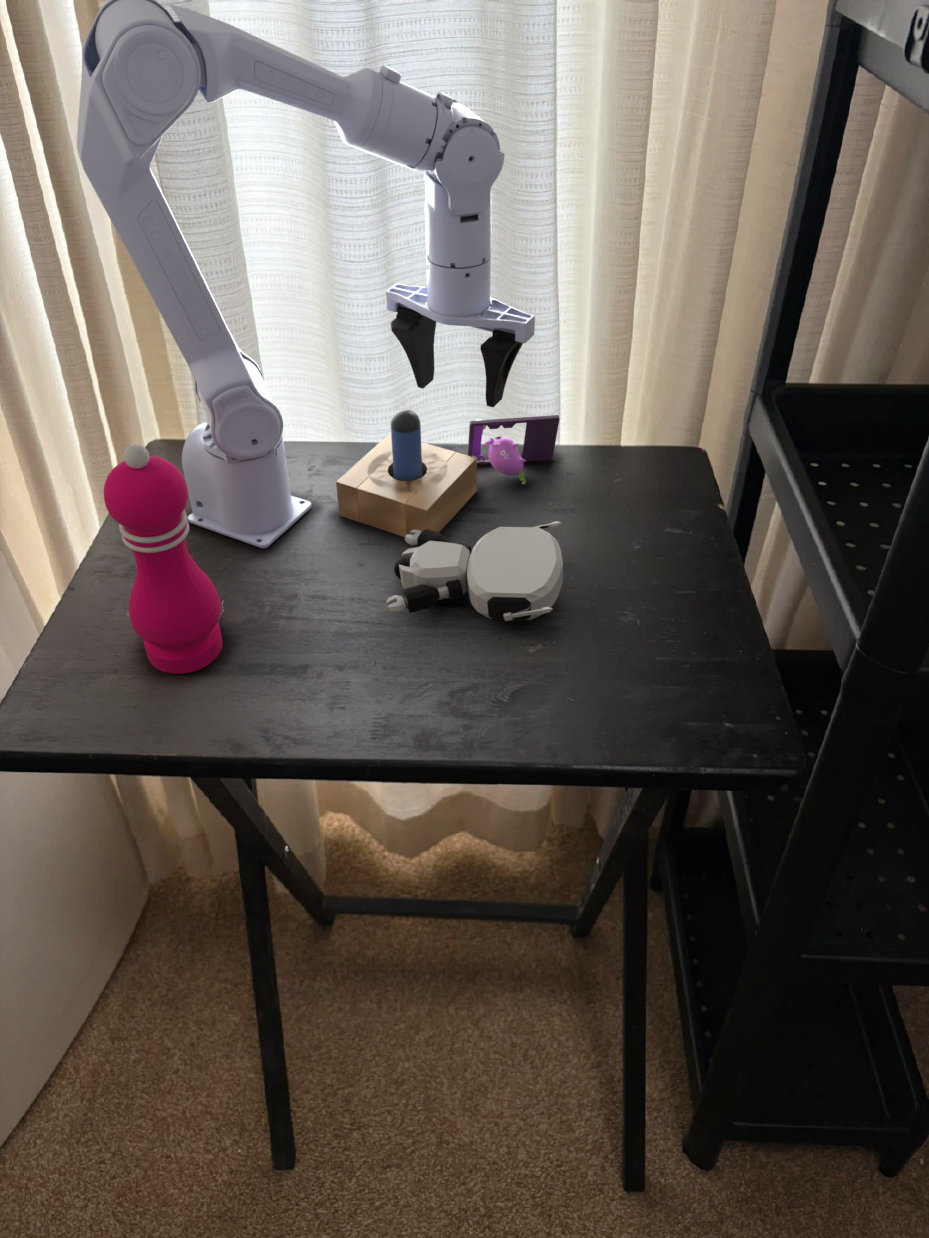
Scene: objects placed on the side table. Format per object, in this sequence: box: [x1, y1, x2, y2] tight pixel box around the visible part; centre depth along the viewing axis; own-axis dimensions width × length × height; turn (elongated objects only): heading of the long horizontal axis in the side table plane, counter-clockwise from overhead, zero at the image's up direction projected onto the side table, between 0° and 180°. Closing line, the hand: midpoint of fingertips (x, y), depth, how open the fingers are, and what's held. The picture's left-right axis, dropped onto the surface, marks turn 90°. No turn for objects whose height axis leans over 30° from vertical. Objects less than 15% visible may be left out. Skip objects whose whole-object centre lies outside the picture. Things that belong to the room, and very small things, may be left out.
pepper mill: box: [103, 443, 224, 675], centre depth 80 cm, size 7×7×20 cm
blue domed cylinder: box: [390, 408, 422, 481], centre depth 99 cm, size 3×3×10 cm
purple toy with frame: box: [467, 414, 560, 485], centre depth 104 cm, size 7×5×9 cm
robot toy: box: [385, 520, 564, 622], centre depth 91 cm, size 12×4×15 cm
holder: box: [335, 432, 478, 538], centre depth 101 cm, size 10×10×4 cm
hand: (459, 392), depth 100 cm, fingers open, 7 cm apart
